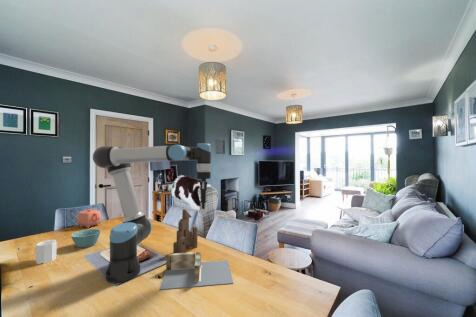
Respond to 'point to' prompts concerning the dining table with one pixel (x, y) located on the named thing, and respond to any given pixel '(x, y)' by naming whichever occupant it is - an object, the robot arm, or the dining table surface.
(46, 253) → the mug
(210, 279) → the card
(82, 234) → the bowl
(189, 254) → the beige wooden panel
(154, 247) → the dining table surface
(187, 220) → the wooden toy
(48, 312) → the dining table surface
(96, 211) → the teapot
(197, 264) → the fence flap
